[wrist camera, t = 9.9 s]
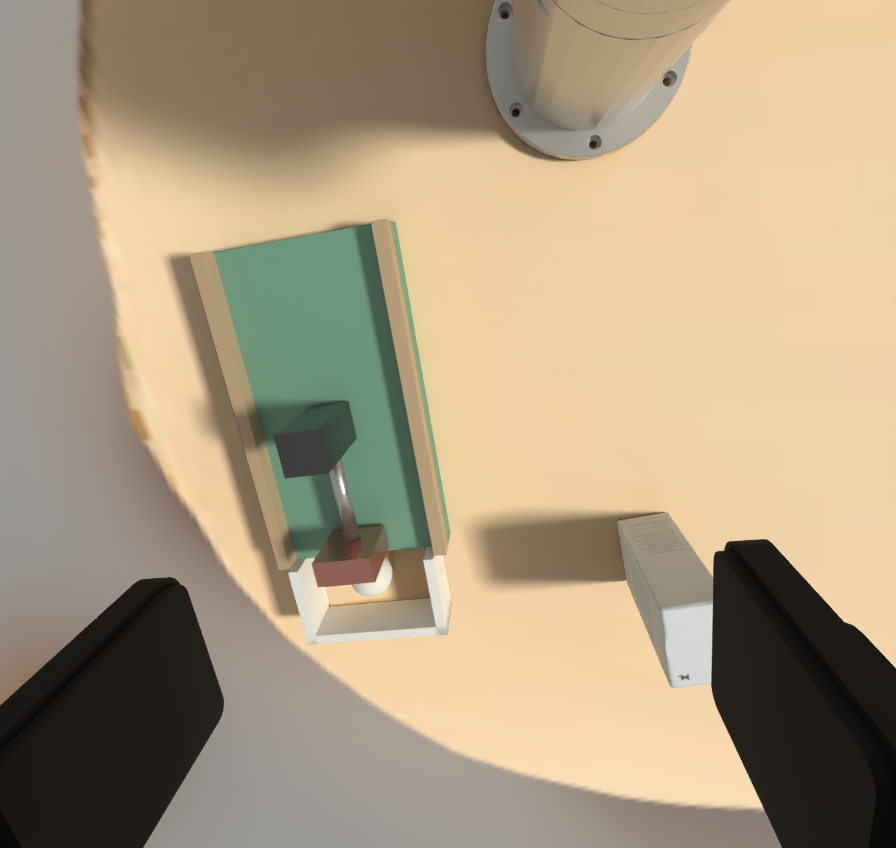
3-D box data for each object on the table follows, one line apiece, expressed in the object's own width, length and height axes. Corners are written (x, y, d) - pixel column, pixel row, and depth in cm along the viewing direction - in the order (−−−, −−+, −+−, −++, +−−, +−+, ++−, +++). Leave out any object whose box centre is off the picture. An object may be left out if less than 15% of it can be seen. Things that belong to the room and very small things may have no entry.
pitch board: (215, 255, 39) (188, 254, 36) (395, 222, 38) (385, 218, 34) (294, 548, 46) (278, 570, 43) (450, 532, 45) (446, 554, 41)
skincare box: (677, 573, 44) (741, 683, 32) (625, 581, 44) (669, 691, 33) (668, 508, 42) (732, 600, 31) (614, 517, 43) (657, 610, 31)
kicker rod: (302, 407, 40) (262, 436, 33) (357, 399, 39) (328, 427, 33) (337, 551, 43) (308, 604, 37) (389, 546, 43) (368, 599, 36)
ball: (359, 589, 46) (354, 548, 46) (399, 585, 46) (393, 545, 46) (346, 604, 43) (340, 561, 43) (389, 601, 42) (383, 557, 42)
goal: (305, 547, 46) (288, 572, 42) (438, 533, 45) (433, 559, 41) (323, 614, 48) (308, 644, 44) (451, 604, 47) (447, 634, 43)
